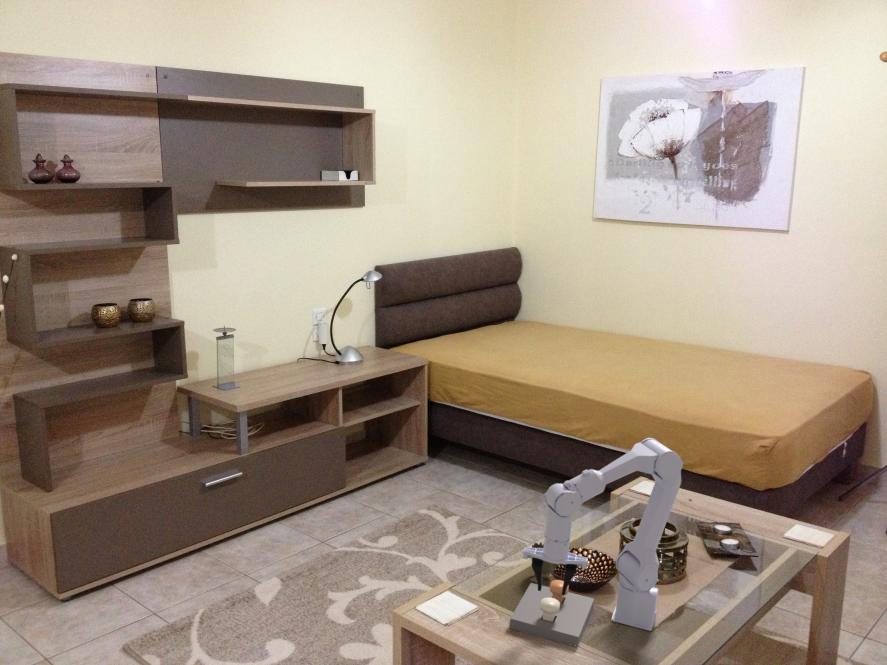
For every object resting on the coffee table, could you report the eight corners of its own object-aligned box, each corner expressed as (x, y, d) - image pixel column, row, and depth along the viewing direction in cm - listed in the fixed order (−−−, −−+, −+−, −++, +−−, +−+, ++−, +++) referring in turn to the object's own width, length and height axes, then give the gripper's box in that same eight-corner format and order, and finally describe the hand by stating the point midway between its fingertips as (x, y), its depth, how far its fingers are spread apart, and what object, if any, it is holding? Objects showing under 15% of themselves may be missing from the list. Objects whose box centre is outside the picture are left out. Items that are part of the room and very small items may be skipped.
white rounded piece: (560, 615, 191) (561, 600, 190) (555, 625, 187) (557, 609, 186) (542, 611, 192) (543, 595, 192) (537, 620, 188) (538, 604, 188)
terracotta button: (568, 597, 199) (570, 582, 198) (564, 606, 195) (566, 591, 194) (551, 593, 201) (552, 578, 200) (546, 601, 197) (548, 586, 196)
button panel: (593, 607, 200) (594, 598, 199) (577, 646, 183) (578, 637, 183) (530, 591, 205) (531, 582, 205) (509, 628, 189) (510, 618, 188)
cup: (556, 585, 209) (559, 557, 207) (527, 581, 210) (530, 552, 209) (558, 571, 216) (561, 544, 214) (530, 567, 217) (533, 539, 216)
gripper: (590, 534, 188) (584, 587, 190) (527, 524, 191) (522, 576, 193) (588, 547, 181) (582, 603, 184) (523, 537, 184) (518, 591, 187)
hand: (551, 590), depth 188 cm, fingers open, 5 cm apart
